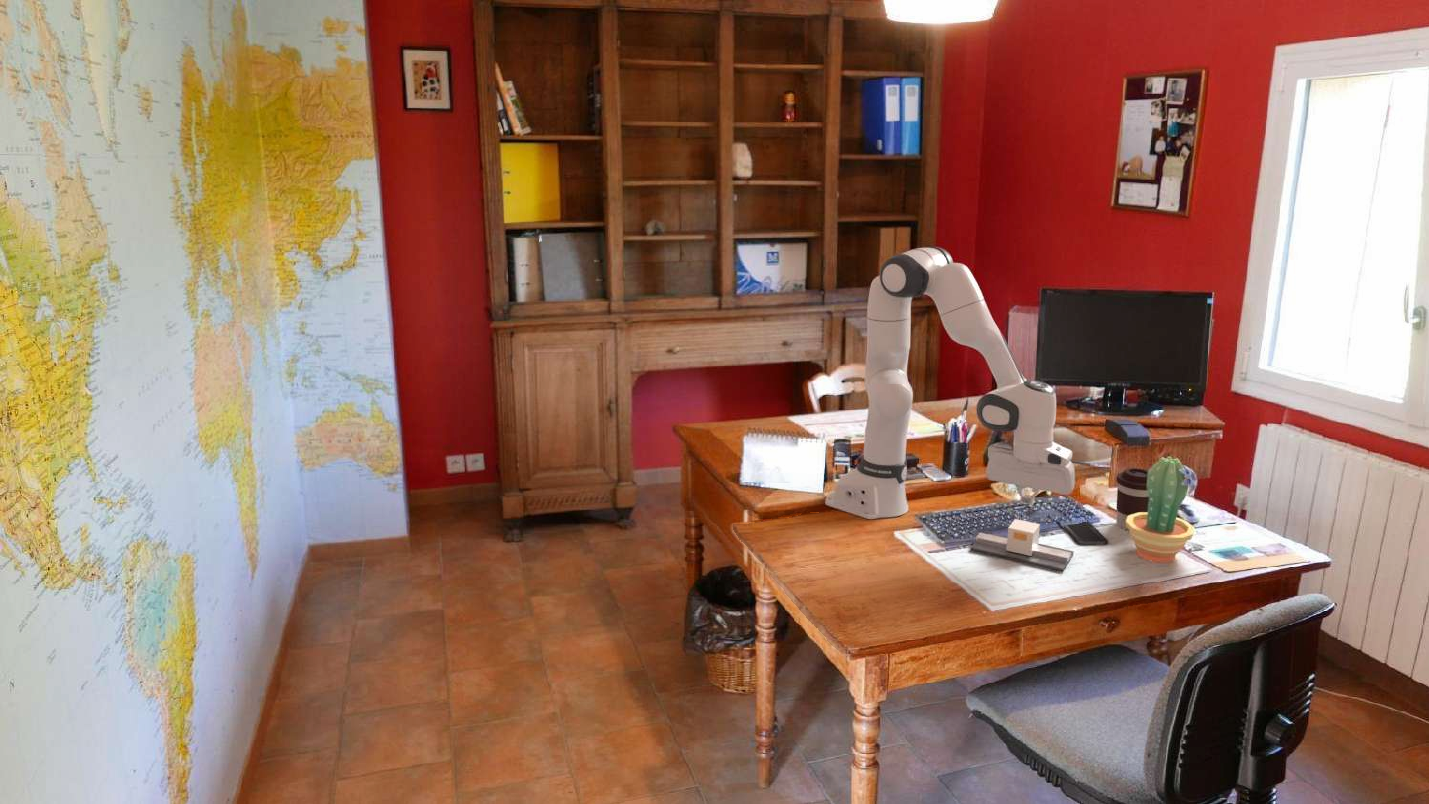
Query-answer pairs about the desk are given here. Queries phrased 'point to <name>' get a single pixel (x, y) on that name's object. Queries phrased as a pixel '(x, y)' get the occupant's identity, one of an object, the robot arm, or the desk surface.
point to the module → (1022, 537)
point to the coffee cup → (1131, 494)
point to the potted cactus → (1163, 512)
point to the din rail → (1040, 555)
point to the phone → (1085, 534)
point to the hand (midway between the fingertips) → (1026, 503)
